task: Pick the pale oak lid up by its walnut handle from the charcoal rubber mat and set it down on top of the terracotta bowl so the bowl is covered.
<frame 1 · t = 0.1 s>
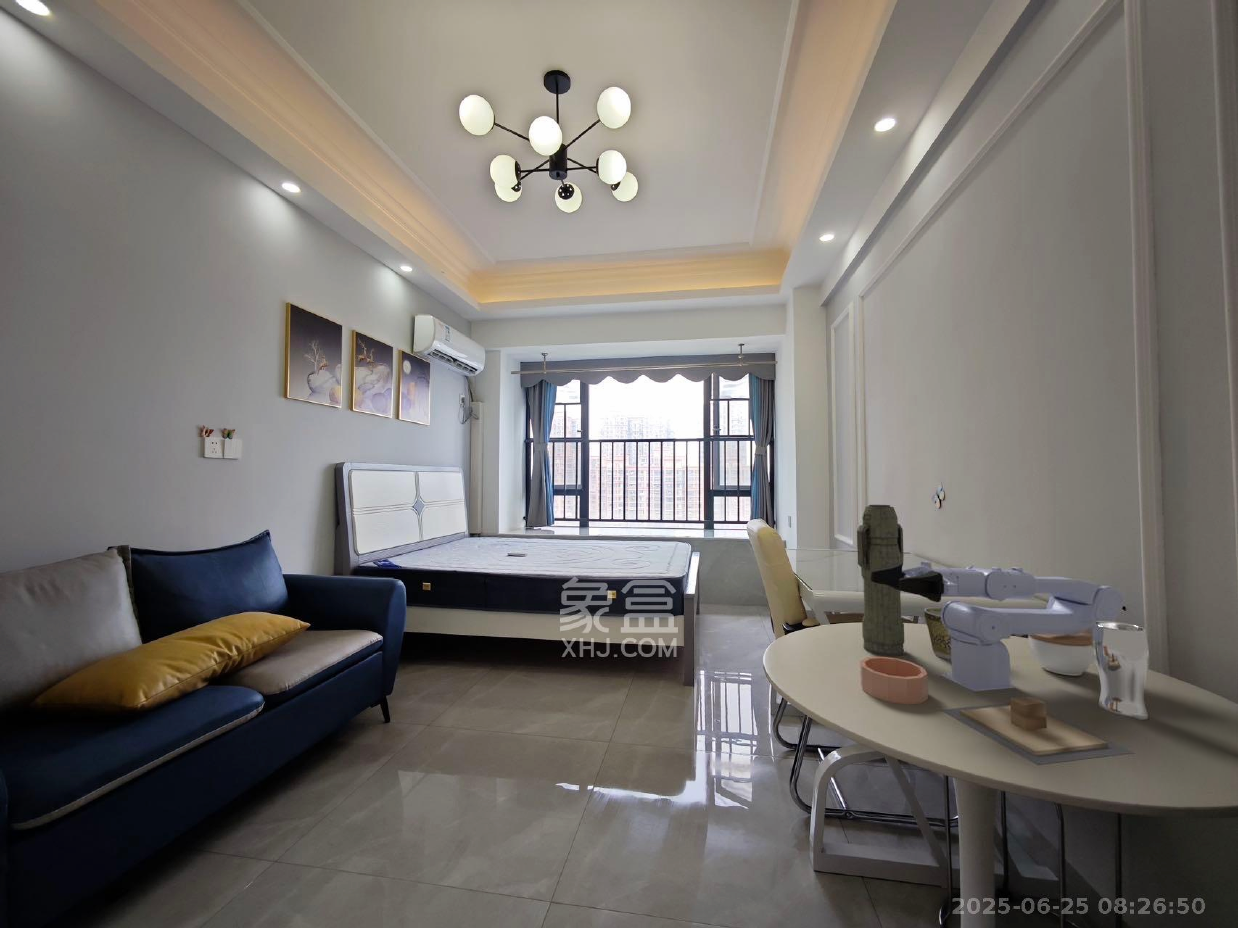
hand: (885, 580, 96), 21 cm above the table, tool horizontal, fingers open, 7 cm apart
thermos: (883, 650, 118), on the table
bowl: (893, 693, 94), on the table
silver metal tumbler: (1122, 712, 86), on the table
mat: (1029, 732, 79), on the table
lidded jar: (1062, 671, 104), on the table, touching arm
ceramic cup: (954, 655, 115), on the table
lid: (1028, 729, 79), resting on mat
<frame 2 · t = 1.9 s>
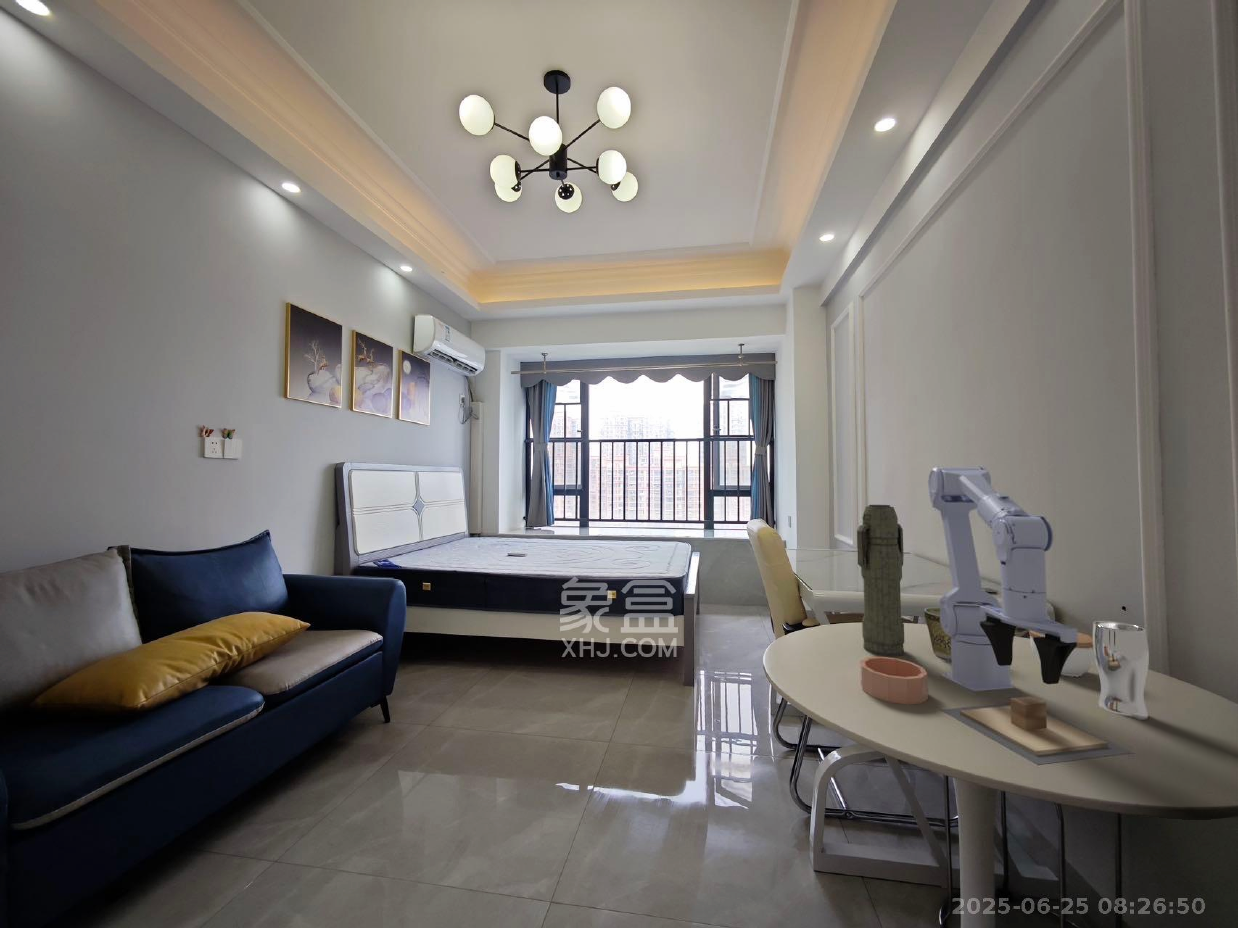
hand: (1026, 673, 80), 9 cm above the table, tool pointing down, fingers open, 7 cm apart
lidded jar: (1062, 672, 104), on the table
everything else where it was.
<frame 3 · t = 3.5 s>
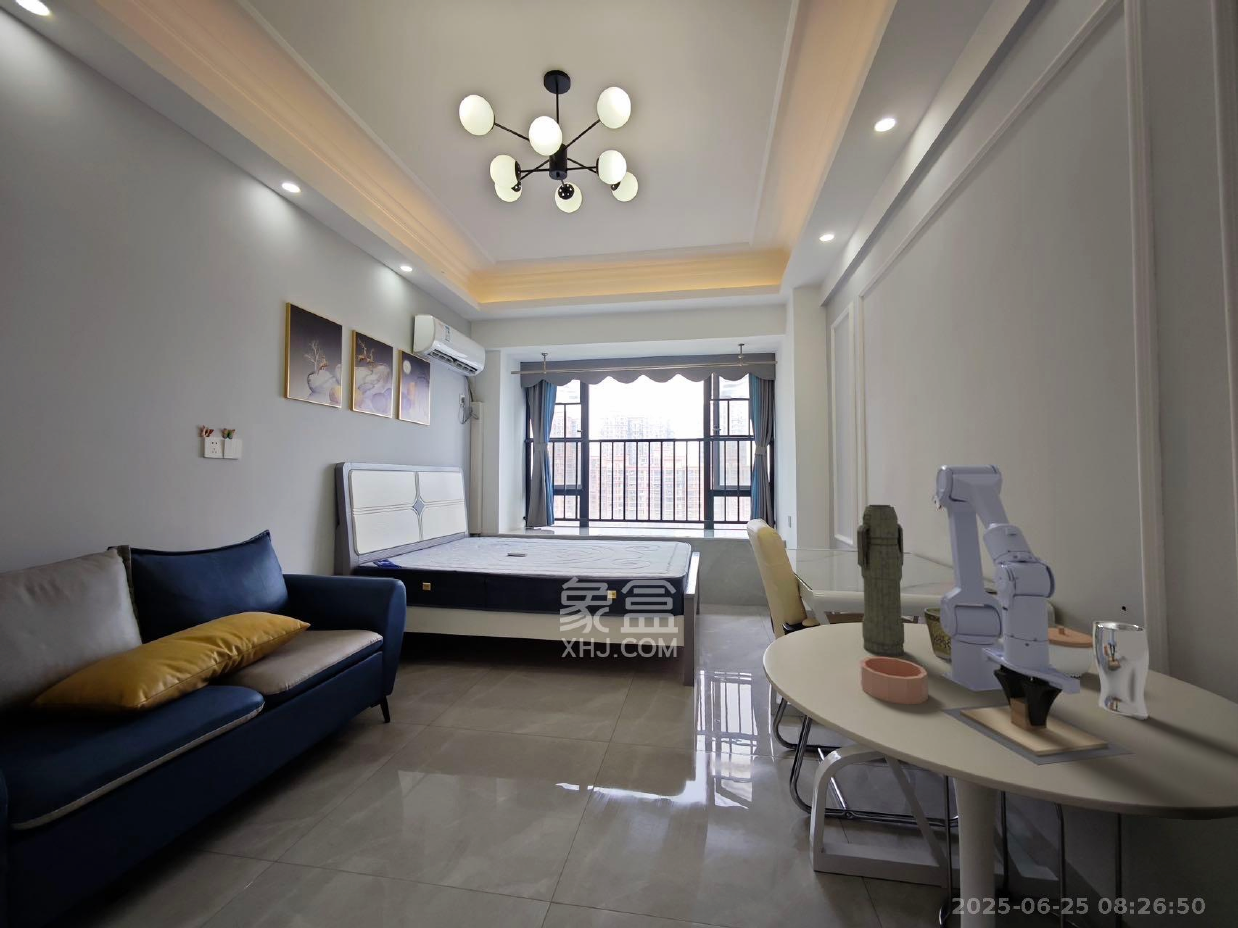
hand: (1028, 720, 79), 2 cm above the table, tool pointing down, fingers closed on lid, 2 cm apart
lid: (1028, 729, 79), resting on mat, touching gripper
everything else where it was.
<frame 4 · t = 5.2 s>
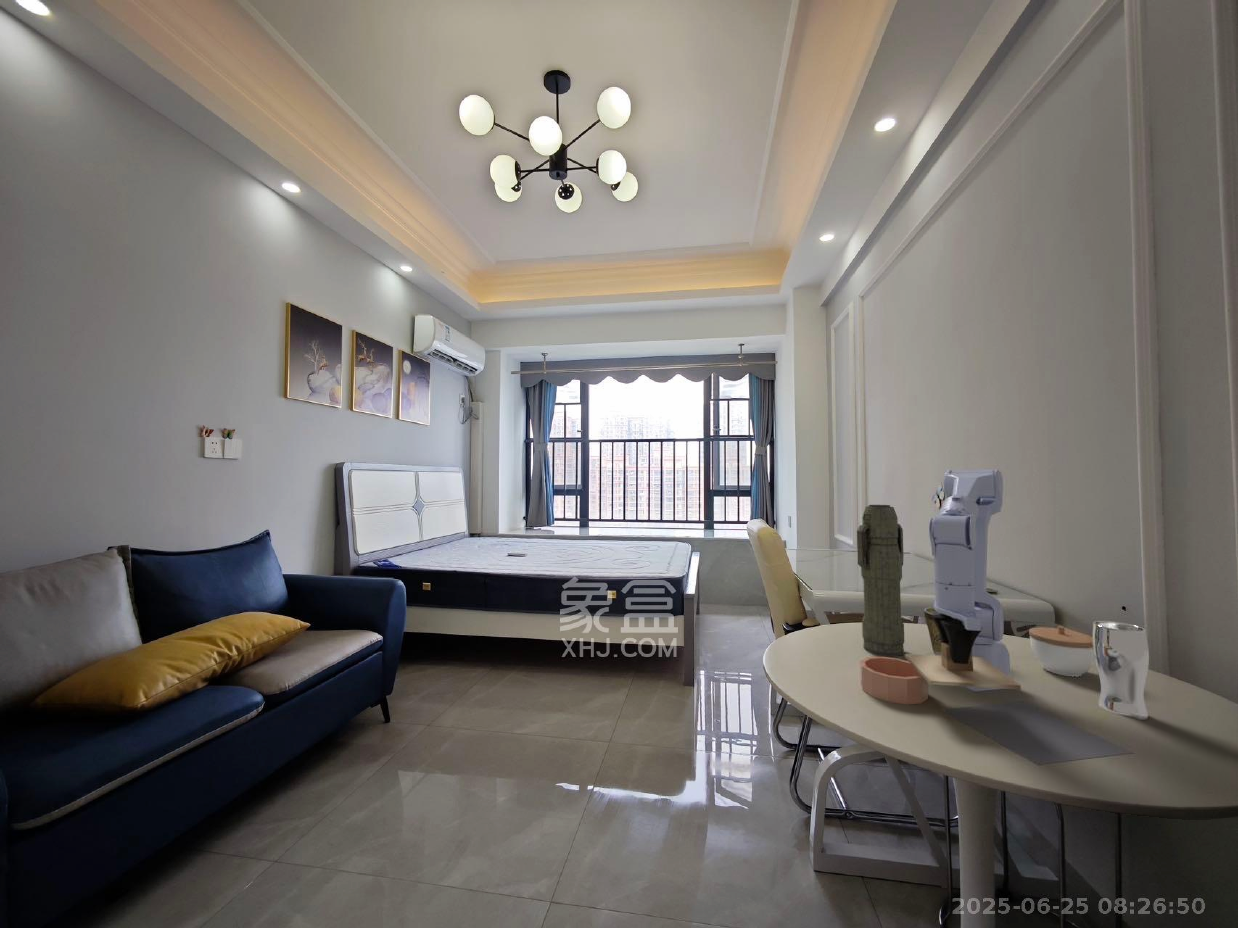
hand: (956, 659, 87), 9 cm above the table, tool pointing down, fingers closed on lid, 2 cm apart
lid: (957, 671, 87), point 7 cm above the table, touching gripper
everything else where it was.
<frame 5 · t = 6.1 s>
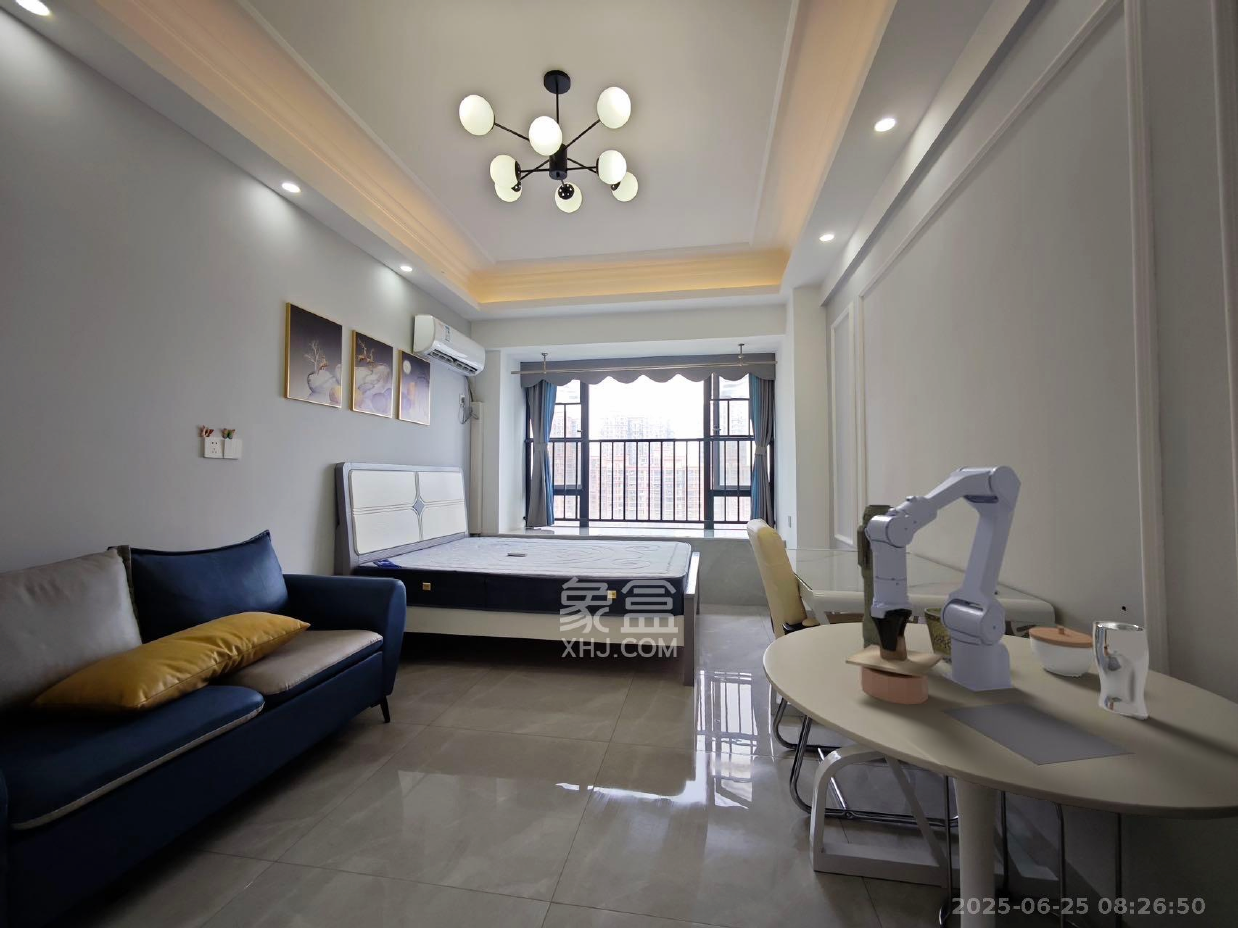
hand: (891, 648, 94), 9 cm above the table, tool pointing down, fingers closed on lid, 2 cm apart
lid: (894, 660, 94), point 6 cm above the table, touching gripper
everything else where it was.
when the fingers open (8 cm above the table, at t = 6.9 s): lid stays where it is, resting on bowl.
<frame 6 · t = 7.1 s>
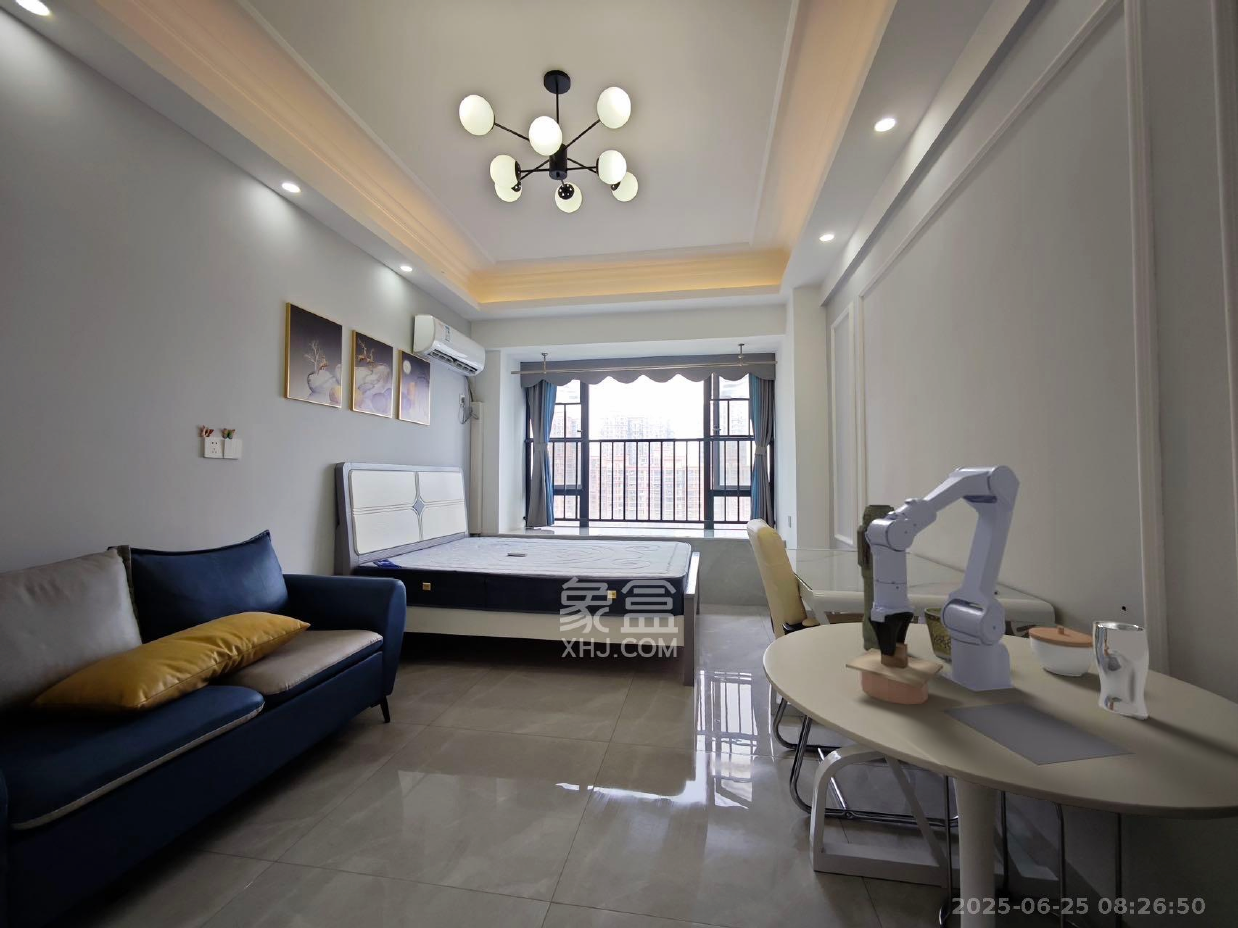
hand: (892, 651, 94), 8 cm above the table, tool pointing down, fingers open, 4 cm apart
lid: (894, 667, 94), point 5 cm above the table, touching bowl
everything else where it was.
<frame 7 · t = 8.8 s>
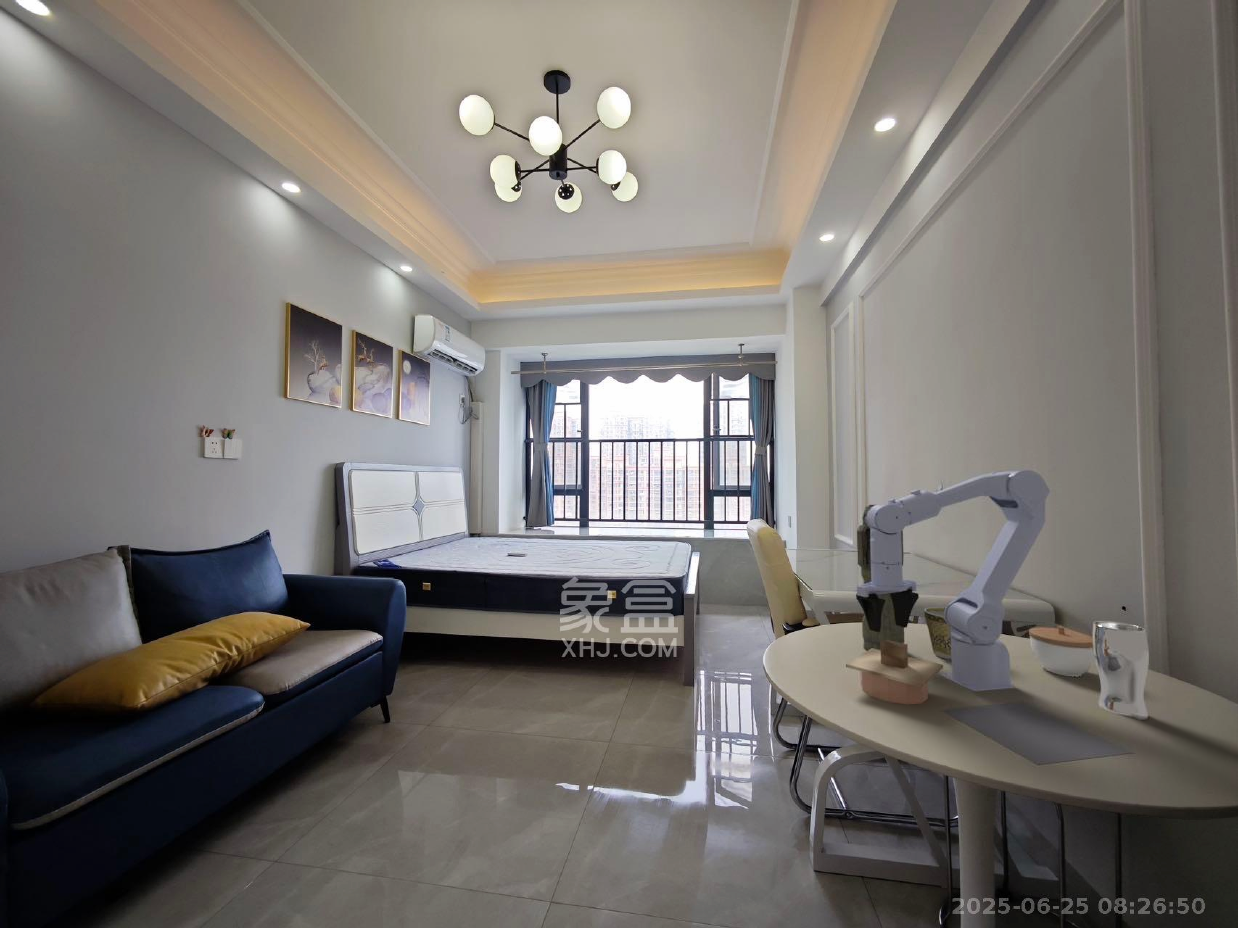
hand: (888, 628, 101), 10 cm above the table, tool pointing down, fingers open, 7 cm apart
nothing on the table moved.
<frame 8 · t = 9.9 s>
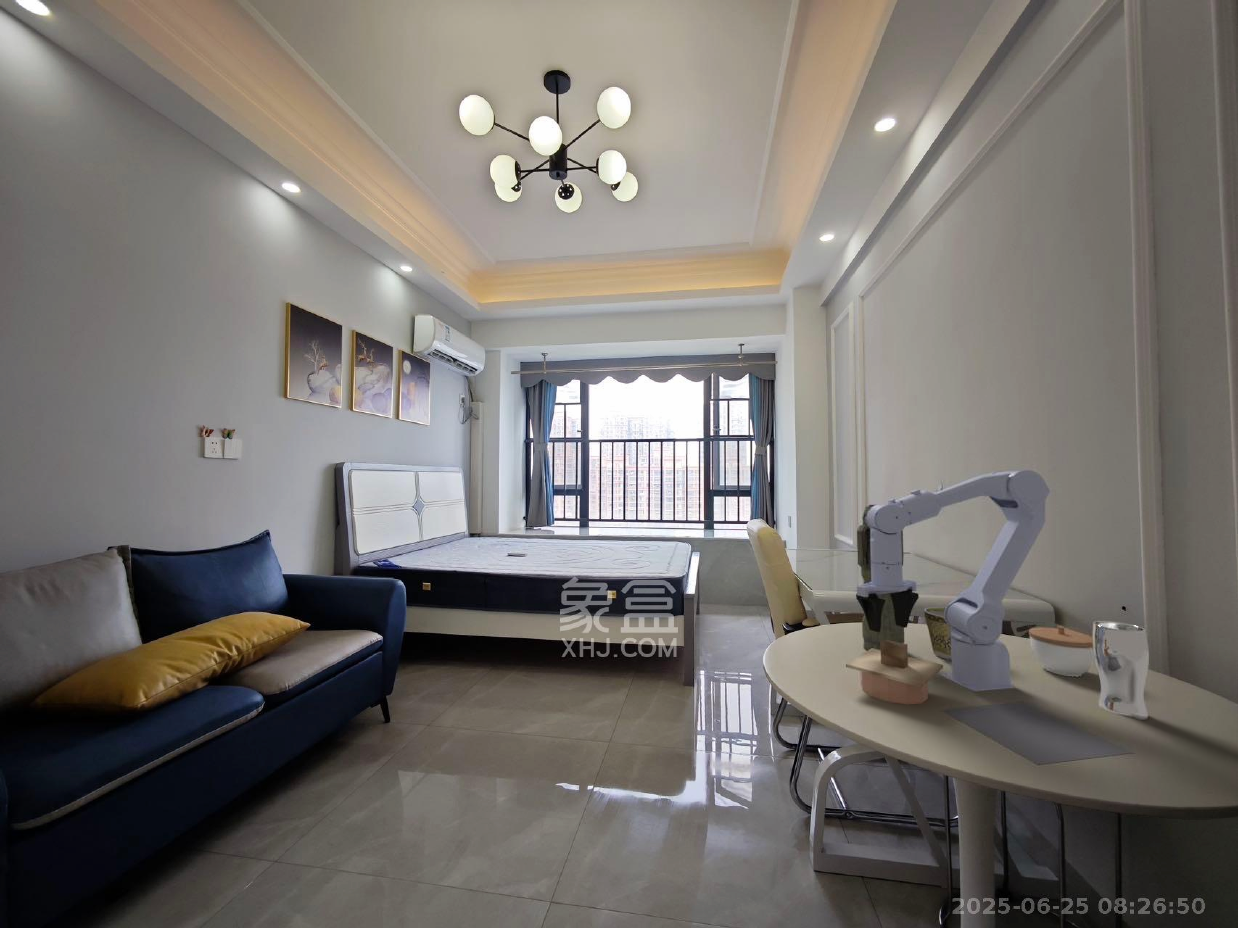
hand: (888, 628, 101), 10 cm above the table, tool pointing down, fingers open, 7 cm apart
nothing on the table moved.
at the end: lid 0.4 cm off-centre on the bowl, point 5.0 cm above the bowl's base; lid tilted 0°; the gripper is holding nothing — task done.
